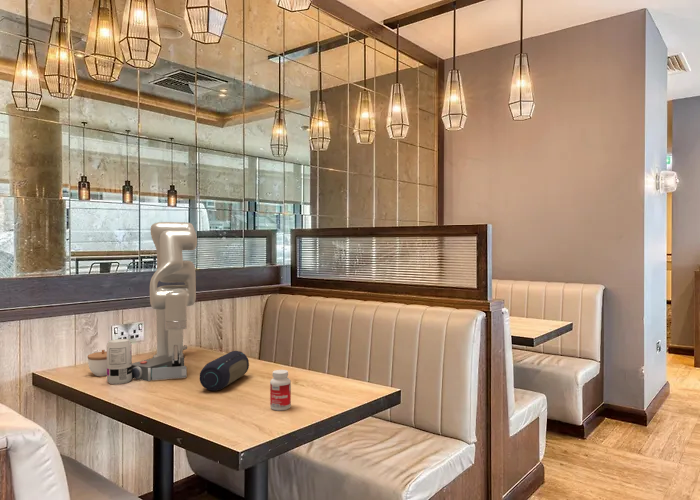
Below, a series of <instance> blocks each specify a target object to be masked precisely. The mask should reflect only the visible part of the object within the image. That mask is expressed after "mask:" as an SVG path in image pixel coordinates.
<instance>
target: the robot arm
mask: <svg viewBox="0 0 700 500" xmlns="http://www.w3.org/2000/svg"><path fill="white" fill-rule="evenodd" d="M150 236H151V239H152V241H153V244H154V247H155V249H156V268H157V269H156V271H155V272H154V273H153V275H152V276H151V278H150V282H149V303H150V307H151V308H152V309H153V310H155V316H156V319H155V320H156V353H155V354H154V355H152V358H155V357H159V356H163V355H168V357H170V356H172V362H173V363H172V367H177V366H181V357H184V353H183V351H184V350H187V349H188V345H186V344H185V345H184V330H186V329H187V325H188V321H187V307H191V306H194V305H195V303H196V299H197V294H196V293H197V290H196V285H197V283H196V282H197V280H196V279H197V278H196V277H197V276H196V275H197V274H196V266H195V264H194V262H193V261H191V260H183V259H184V258H183V251H194V250H195V249H196V248H197V246H198V245H197V244H198V238H197V233H196V230H195V227H194V224H192V223H191V222H185V221H184V222H183V221H182V222H181V221H159V222H154V223H153V224H151V225H150ZM159 282H161V283H184V284H177V285H176V284H174V285H173V284H171V285H170V284H169V285H160V286H158V283H159Z"/></svg>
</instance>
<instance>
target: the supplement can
mask: <svg viewBox="0 0 700 500" xmlns="http://www.w3.org/2000/svg"><path fill="white" fill-rule="evenodd" d="M132 349H133V348H132V343H131V341H130V339H129V338H117V339H116V338H115V339H111V340H108V342H107V344H106V351H107V376H106V382H107V383H108V384H110V385H122V384H128V383H129V382H131V381H132V363H133V361H132V359H133V357H132V356H133V355H132V354H133V353H132V351H133V350H132Z"/></svg>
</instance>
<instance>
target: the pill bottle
mask: <svg viewBox="0 0 700 500" xmlns="http://www.w3.org/2000/svg"><path fill="white" fill-rule="evenodd" d="M271 376H272V378H271V379H270V382H269V383H270V385H269V387H270V388H269V392H270V395H269V397H270V398H269V399H270V400H269V401H270V402H269V403H270V405H269V406H270V407H269V408H270V409H271V410H273V411H286V410H289V409H290V408H291V406H292V405H291V402H292V401H291V399H292V395H291V394H292V393H291V392H292V391H291V390H292V388H291V387H292V386H291V385H292V384H291V382H292V381H291V379H290V378H289V371H288V370H287V369H276V370H273V371H272V375H271Z"/></svg>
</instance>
